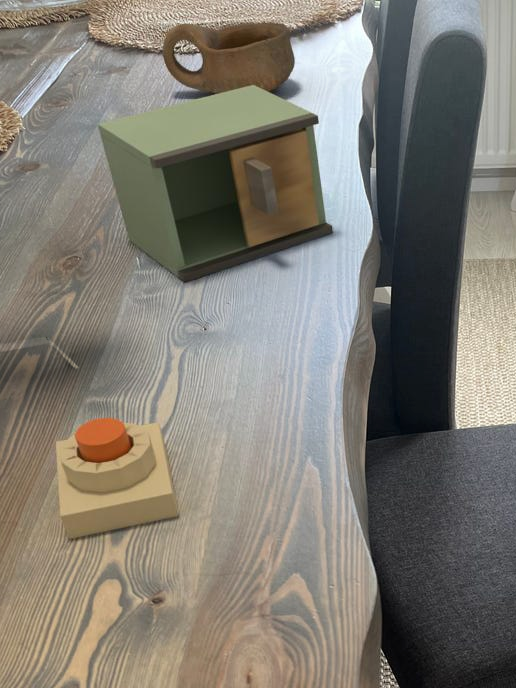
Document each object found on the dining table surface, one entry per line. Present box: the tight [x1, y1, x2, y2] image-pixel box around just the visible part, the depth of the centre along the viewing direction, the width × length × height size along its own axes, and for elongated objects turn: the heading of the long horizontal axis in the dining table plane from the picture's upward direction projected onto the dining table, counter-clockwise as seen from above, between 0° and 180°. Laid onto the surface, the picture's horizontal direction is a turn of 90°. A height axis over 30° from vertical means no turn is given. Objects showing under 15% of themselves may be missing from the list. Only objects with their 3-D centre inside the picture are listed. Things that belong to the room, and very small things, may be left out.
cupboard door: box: [229, 130, 319, 247], centre depth 103 cm, size 9×4×10 cm, turn 128°
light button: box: [74, 417, 131, 463], centre depth 75 cm, size 4×4×2 cm
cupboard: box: [97, 85, 334, 283], centre depth 106 cm, size 18×13×12 cm
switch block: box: [55, 421, 180, 540], centre depth 76 cm, size 10×8×4 cm
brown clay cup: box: [162, 22, 296, 95], centre depth 141 cm, size 18×14×10 cm
